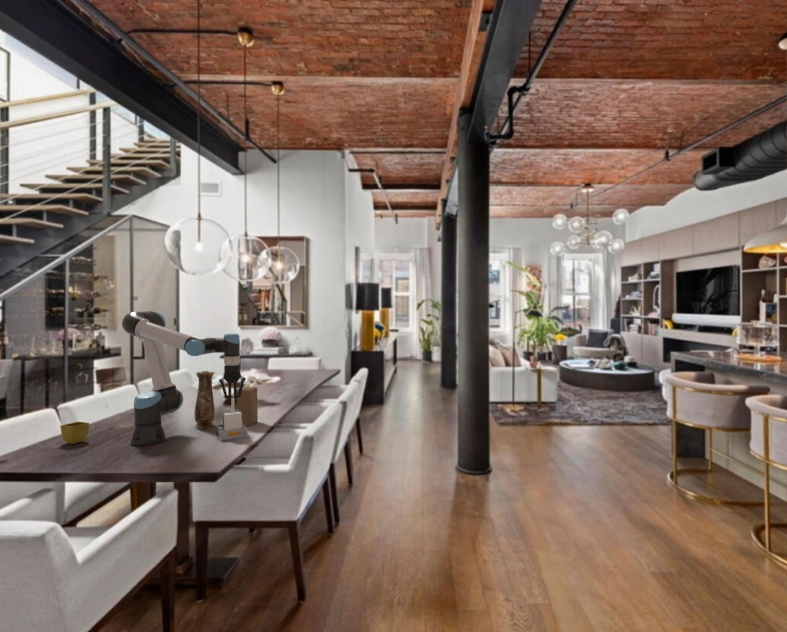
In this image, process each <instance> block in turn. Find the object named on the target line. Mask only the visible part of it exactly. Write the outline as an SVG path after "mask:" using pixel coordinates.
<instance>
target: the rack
mask: <svg viewBox="0 0 787 632" xmlns="http://www.w3.org/2000/svg"><path fill="white" fill-rule="evenodd" d="M235 412H240V411H239V409H235ZM224 413H234V412H231V409H225V410H224V409H223V410H222V419H221V421H222V423H221V424H217V435H218V438H219V440H220V442H227V441H234V440H241V439H248V436H249V435H248V433H249V432H248V428H247V427H246V426H245V424H244V425H243V422H242V428H241V429H233V430H224Z"/></svg>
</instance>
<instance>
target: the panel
mask: <svg viewBox="0 0 787 632" xmlns="http://www.w3.org/2000/svg"><path fill="white" fill-rule="evenodd" d="M241 428H242V413H241V412H234V413H224V430H233V429H241Z"/></svg>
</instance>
